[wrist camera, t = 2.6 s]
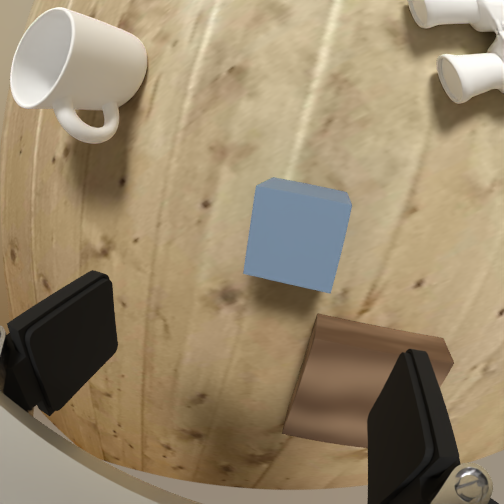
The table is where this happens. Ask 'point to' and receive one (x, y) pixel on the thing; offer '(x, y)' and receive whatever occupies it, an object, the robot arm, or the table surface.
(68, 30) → the mug
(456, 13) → the binoculars
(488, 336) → the table surface
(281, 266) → the slate cube
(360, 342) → the walnut base
